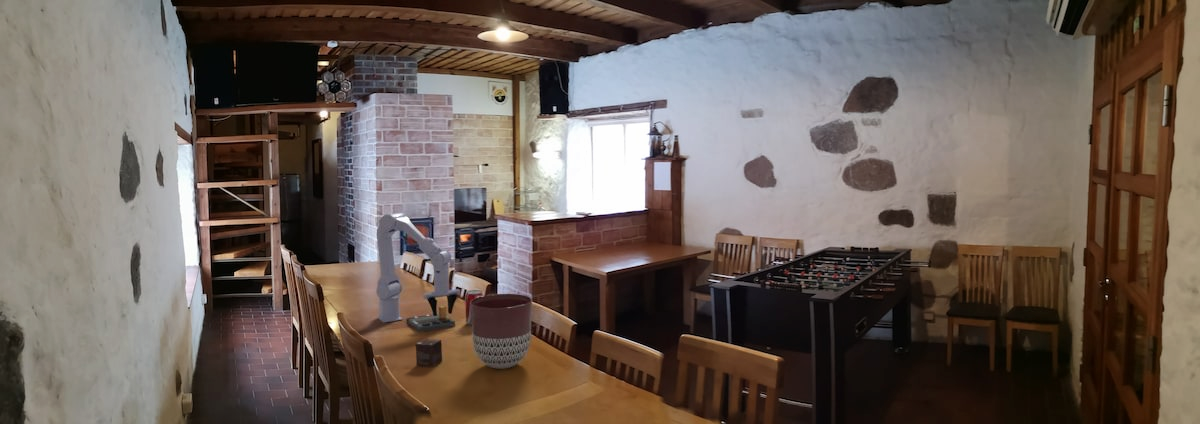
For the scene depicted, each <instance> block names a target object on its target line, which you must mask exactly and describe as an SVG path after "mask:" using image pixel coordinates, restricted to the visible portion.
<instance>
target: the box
mask: <svg viewBox="0 0 1200 424" xmlns="http://www.w3.org/2000/svg"><path fill="white" fill-rule="evenodd" d="M415 354H416V356H415V358H416V366H419V367H422V366H423V367H430V368H433V367H436V366H437V365H438V364H440V363H442V362H443V348H442V339H433V338H425V339H422V340H420V341H419V342H417V343H415Z"/></svg>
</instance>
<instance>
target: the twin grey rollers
mask: <svg viewBox="0 0 1200 424" xmlns="http://www.w3.org/2000/svg"><path fill="white" fill-rule="evenodd" d="M431 315H433V313H432V314H426V315H420V316H419V315H418V316H413V317H407V318H406V322H407V323H409V322H408V319H412V318H418V317H425V316H431Z"/></svg>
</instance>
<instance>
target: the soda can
mask: <svg viewBox="0 0 1200 424" xmlns="http://www.w3.org/2000/svg"><path fill="white" fill-rule="evenodd" d="M465 293H466V294H465V296H464V297H465V299H464V301H465V304H464V305H465V323H466V324H467V325H468V326H472V324H471V312H470V301H471V300H473V299H475V298H477V297H481V296H484V294H483V291H482V290H479V289H472V290H468V291H466V292H465Z"/></svg>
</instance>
